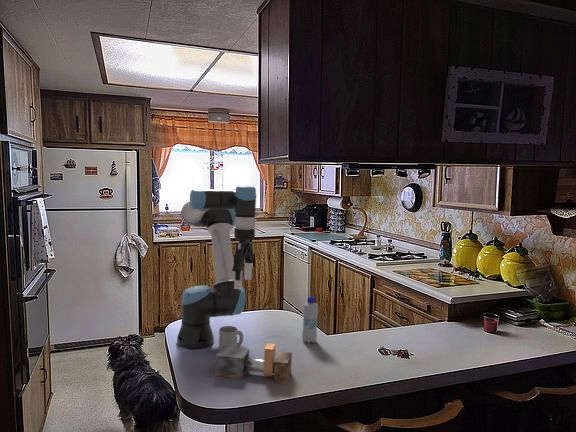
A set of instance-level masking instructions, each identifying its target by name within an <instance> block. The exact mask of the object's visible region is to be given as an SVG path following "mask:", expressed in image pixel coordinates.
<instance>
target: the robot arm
mask: <svg viewBox="0 0 576 432" xmlns="http://www.w3.org/2000/svg"><path fill="white" fill-rule="evenodd" d="M256 201H257V189H256V187H254V186H250V185H238V186H236V187H235V189H202V188H199V189H198V188H197V189H191V191H190V194H189V201H188V202H186V203H185V204H184V205H183V206H182V207H181V210H180V215H181V218H182V220H184V222H185V223H187V224H188V225H190V226H193V227H196V228H197V227H198V228H206V229H207V232H208V233H209V234H210V235H211V237H210V238H211V247H212V253H213V254H212V255H213V265H214V274H215V283H214V284H213V285H212V287H213V288H212V289H211V287H210V286H208V285H206V284H205V285H202V284H201V285H195V286H191V287H188V288H186V289H184V291H183V292H182V295H181V325H180V329H179V331H178V334H177V337H176V343H177V345H178V346H179V347H180V348H184V349H189V350H197V349H199V350H200V349H204V348H207V347H209V346H211V345H212V344H213V343H214V342H215V341H214V339H215V338H214V337H215V336H214V333H213V330H212V327H211V323H210V322H211V318H217V317H218V318H219V317H229V316H230V317H233V316H236V315H238V316H239V315H241V314H242V313H244V309H245V305H246V289H245V287H243V278H244V280H246V281H252V277H253V263H255V260H254V259H255V257H254V250H253V240H254V239H255V236H256V229H255V227H256V223H257V219H256V207H257V206H256V205H257V204H256V203H257V202H256ZM233 227H235V228H234V232H233V233H234V239H237V240H239V241H238V242H237V243H235V253H234V254H233V249H232V248H233V246H232V240H231V231H232V230H233ZM233 255H234V256H233ZM244 261H245V263H244ZM243 265H244V270H243ZM243 271H244V277H243Z"/></svg>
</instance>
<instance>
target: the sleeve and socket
mask: <svg viewBox="0 0 576 432" xmlns="http://www.w3.org/2000/svg"><path fill="white" fill-rule="evenodd" d="M245 358H250V348H245V347H239V346H238V347H228V346H223V347H222V348H221V349H220V351H218V352H217V353H216V354H215V366H214V367H215V373H214V376H215V377H225V378H233V379H238V380H239V379H240V380H242V379H243V378H244V376H245V375H246V373H247V372H248V371H245V370H244V359H245ZM292 358H293V352H291V351H290V352H289V351H288V352H287V351H281V350H280V351H279V352H278V354H277V356H276V357H275V372H274V374H273V375H274V376H273V380H274V381H273V382H274V384H282V385H288V381H289V380H290V376H291V374H292Z"/></svg>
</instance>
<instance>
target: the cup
mask: <svg viewBox="0 0 576 432" xmlns="http://www.w3.org/2000/svg"><path fill="white" fill-rule="evenodd" d="M218 332H219V333H218V334H219V335H218V337H219V339H218V340H219V341H218V350H219V351H220V349H221V348H222V347H223V346H228V347H238V348H239V347H240V346H241V345H243V342H244V334H243V331H241V330H238V327H236V326H233V325H232V326H231V325H225V326H222V327H220V328H219V331H218ZM238 336H239V341H238ZM219 351H218V352H219Z"/></svg>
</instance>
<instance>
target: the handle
mask: <svg viewBox="0 0 576 432" xmlns="http://www.w3.org/2000/svg"><path fill="white" fill-rule="evenodd" d="M276 345H277V343H267V344H266V345H265V347H264V353H263V354H264V356H263V357H264V359H263V358H252V357H249V358H245V359H244V370H245V371H247V372H256V373H263V376H266V377H273V375H274V372H275V360H276V349H277V348H276V347H277V346H276Z"/></svg>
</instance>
